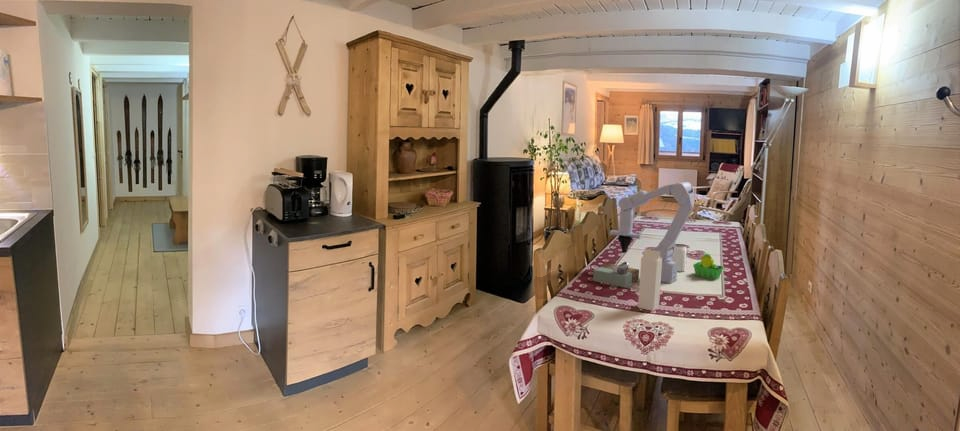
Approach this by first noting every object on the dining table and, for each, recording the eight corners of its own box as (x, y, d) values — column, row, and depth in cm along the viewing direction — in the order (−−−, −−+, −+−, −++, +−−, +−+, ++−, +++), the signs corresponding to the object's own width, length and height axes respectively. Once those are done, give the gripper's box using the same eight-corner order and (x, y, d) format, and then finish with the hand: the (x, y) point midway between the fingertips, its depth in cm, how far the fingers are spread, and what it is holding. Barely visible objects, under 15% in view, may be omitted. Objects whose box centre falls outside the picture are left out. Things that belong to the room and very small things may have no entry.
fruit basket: (723, 277, 249) (725, 253, 247) (716, 281, 243) (718, 256, 241) (698, 272, 257) (700, 248, 255) (690, 276, 251) (692, 251, 249)
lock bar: (623, 266, 244) (623, 260, 243) (629, 267, 242) (629, 262, 242) (612, 271, 236) (612, 265, 235) (618, 272, 234) (618, 266, 233)
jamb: (638, 280, 243) (639, 269, 242) (632, 283, 238) (633, 272, 237) (606, 274, 252) (607, 263, 251) (600, 277, 247) (600, 265, 246)
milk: (643, 303, 213) (647, 247, 209) (659, 307, 209) (663, 250, 206) (637, 307, 208) (641, 250, 204) (653, 311, 204) (657, 253, 201)
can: (685, 272, 256) (687, 247, 254) (671, 271, 258) (673, 246, 255) (683, 268, 263) (685, 244, 260) (669, 267, 264) (671, 243, 262)
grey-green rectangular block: (631, 284, 237) (632, 267, 236) (625, 287, 232) (626, 270, 231) (599, 277, 246) (600, 261, 245) (592, 280, 241) (593, 264, 240)
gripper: (607, 222, 253) (605, 251, 256) (637, 226, 244) (635, 256, 247) (614, 220, 259) (612, 248, 261) (644, 224, 250) (642, 253, 252)
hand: (624, 252), depth 254 cm, fingers closed
